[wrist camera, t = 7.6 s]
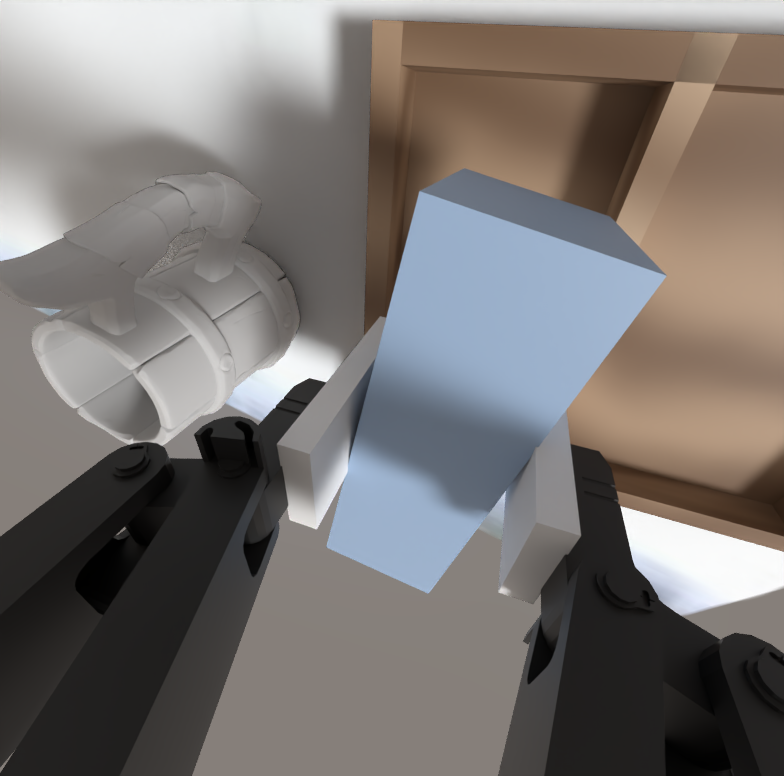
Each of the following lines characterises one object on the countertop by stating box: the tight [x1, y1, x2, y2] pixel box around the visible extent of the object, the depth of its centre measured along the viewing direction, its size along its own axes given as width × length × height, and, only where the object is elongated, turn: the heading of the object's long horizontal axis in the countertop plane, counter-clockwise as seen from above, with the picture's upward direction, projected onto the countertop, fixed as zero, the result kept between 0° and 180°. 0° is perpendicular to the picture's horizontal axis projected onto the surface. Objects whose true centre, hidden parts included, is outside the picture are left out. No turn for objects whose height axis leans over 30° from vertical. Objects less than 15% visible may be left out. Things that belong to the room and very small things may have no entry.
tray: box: [364, 20, 784, 552], centre depth 15 cm, size 18×23×2 cm
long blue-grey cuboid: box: [327, 168, 667, 593], centre depth 11 cm, size 12×4×5 cm, turn 166°
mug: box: [0, 172, 300, 446], centre depth 16 cm, size 8×12×12 cm, turn 155°
